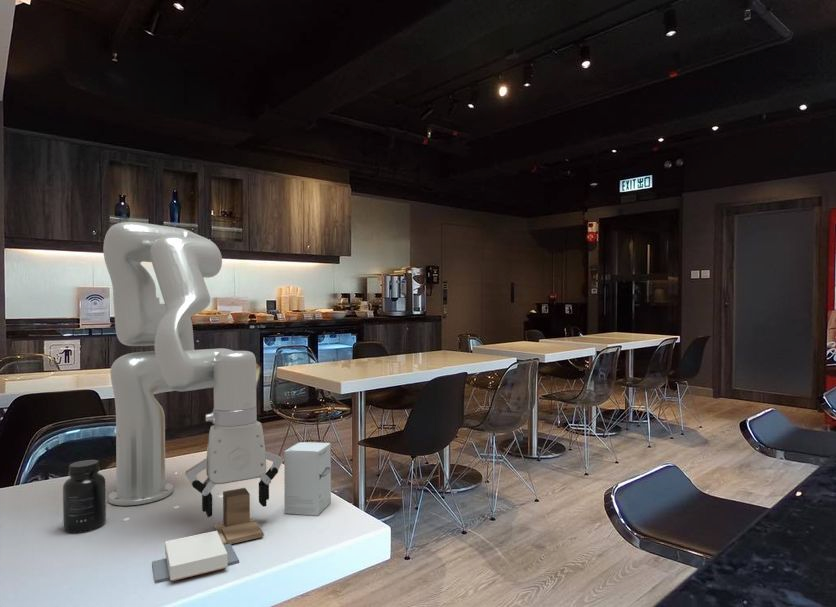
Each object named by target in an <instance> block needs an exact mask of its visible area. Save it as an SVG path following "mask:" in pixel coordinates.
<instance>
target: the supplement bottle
mask: <svg viewBox="0 0 836 607" xmlns="http://www.w3.org/2000/svg"><path fill="white" fill-rule="evenodd" d="M100 470H101V469H100V461H99V460H98V459H97V460H96V459H86V460H80V461H75V462H73V463H70V464H69V465H68V477H69V478H68V479H67V480H66V481H65V482H64V483H63V485H62V511H63V512H62V515H63V516H62V517H63V521H62V522H63V530H64V531H65V532H66V533H69V534H81V533H86V532H90V531H93V530H96V529H99V528H100V527H102V526H103V525H104V524H105V523H106V520H107V505H106V504H107V500H106V499H107V494H106V493H107V491H106V489H107V488H106V478H105V476H104V475H103V474H101V473H99V472H100Z"/></svg>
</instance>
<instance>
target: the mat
mask: <svg viewBox="0 0 836 607" xmlns="http://www.w3.org/2000/svg"><path fill="white" fill-rule="evenodd" d="M224 547H225V549H226V552H227V563H228V566H231V565H235V564H236V565H237V564H239V563H240V559H239V557H238V556H237V554H236V551H235V549H234V548H233V546H232V544H225V545H224ZM151 565H152V572H153V579H154V583H155V584H158V583H163V582H167V581H171V580H170V576H169V571H168V566H167V561H166V557H165V558H163V559H157V560H152V561H151Z"/></svg>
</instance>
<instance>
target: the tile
mask: <svg viewBox="0 0 836 607" xmlns="http://www.w3.org/2000/svg"><path fill="white" fill-rule="evenodd" d="M164 555H165V558H166V561H167V566H168V571H169V576H170V580H169V581H172V582H174V581H178V580H183V579H187V578H189V577H193V576H194V577H195V576H198V575H203V574H208V573H211V572H215V571H218V570H219V571H220V570H224V569H226V568H227V567H228V566H229V565H228V563H227V552H226V549H225V547H224V545H223V543H222V541H221V539H220V536H219V534H218V532H217V531H216V530H214V531H208V532H203V533H198V534H195V535H190V536H184V537H180V538H174V539H169V540H166V541H164Z"/></svg>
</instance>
